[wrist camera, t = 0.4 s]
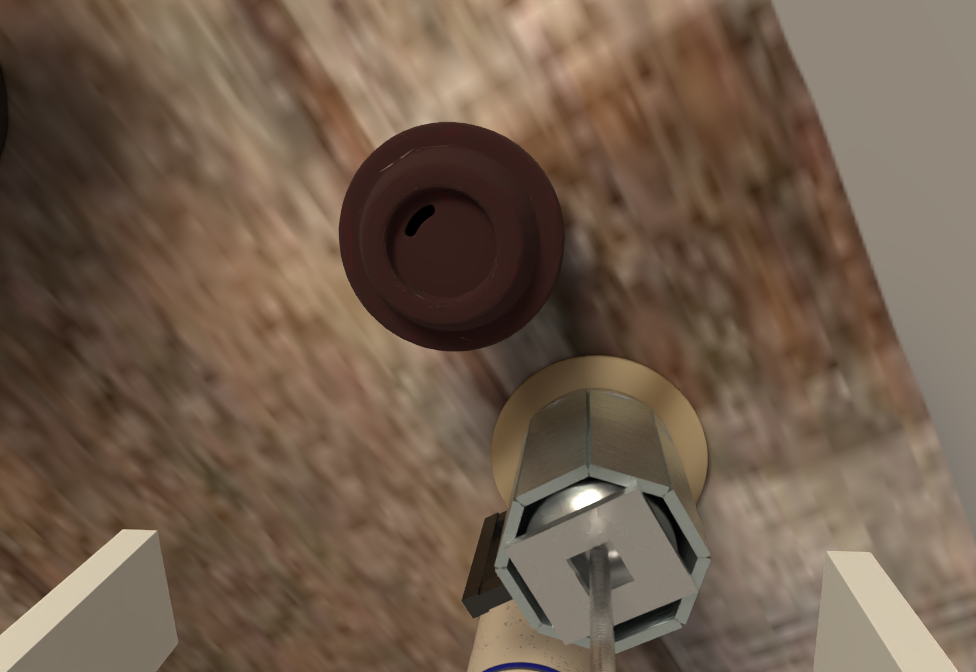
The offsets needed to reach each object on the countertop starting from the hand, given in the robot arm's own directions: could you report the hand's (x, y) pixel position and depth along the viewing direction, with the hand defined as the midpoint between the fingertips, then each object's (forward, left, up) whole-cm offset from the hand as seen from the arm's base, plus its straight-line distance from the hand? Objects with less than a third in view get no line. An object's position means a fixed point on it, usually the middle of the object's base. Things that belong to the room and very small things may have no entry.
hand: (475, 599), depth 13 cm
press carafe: (+7, -9, -30) cm, 32 cm away
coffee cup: (-6, +2, -31) cm, 32 cm away
